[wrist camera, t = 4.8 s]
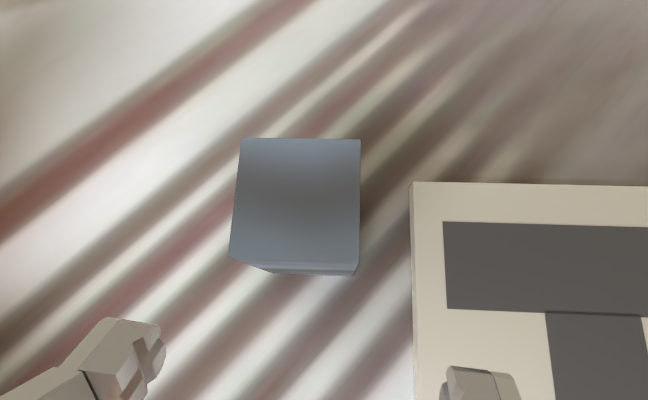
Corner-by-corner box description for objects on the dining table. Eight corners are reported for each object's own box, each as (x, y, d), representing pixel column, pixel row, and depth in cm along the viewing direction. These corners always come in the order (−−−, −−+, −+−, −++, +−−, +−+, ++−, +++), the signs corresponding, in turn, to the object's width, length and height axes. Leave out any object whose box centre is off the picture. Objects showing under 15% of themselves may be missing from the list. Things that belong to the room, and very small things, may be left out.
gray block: (352, 276, 19) (359, 261, 12) (272, 273, 20) (227, 257, 12) (353, 198, 20) (360, 139, 13) (279, 197, 21) (241, 137, 13)
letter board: (845, 666, 14) (892, 700, 13) (420, 624, 15) (427, 653, 14) (714, 195, 19) (738, 188, 18) (409, 188, 20) (413, 181, 19)
